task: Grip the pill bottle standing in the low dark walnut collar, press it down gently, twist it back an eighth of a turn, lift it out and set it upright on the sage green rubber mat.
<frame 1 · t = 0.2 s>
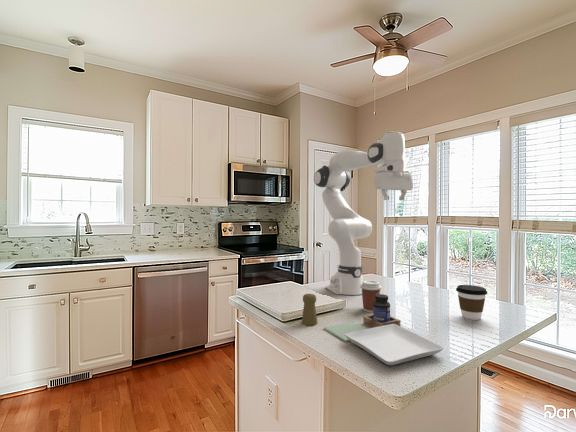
hand: (394, 200, 136), 47 cm above the counter, tool pointing down, fingers open, 8 cm apart
pill bottle: (381, 325, 116), resting in walnut collar
walnut collar: (381, 324, 116), on the counter
salad plate: (391, 350, 96), on the counter
cork: (309, 323, 119), on the counter
sage mat: (349, 331, 110), on the counter
coffee cup 2: (370, 310, 135), on the counter
coffee cup: (471, 318, 125), on the counter
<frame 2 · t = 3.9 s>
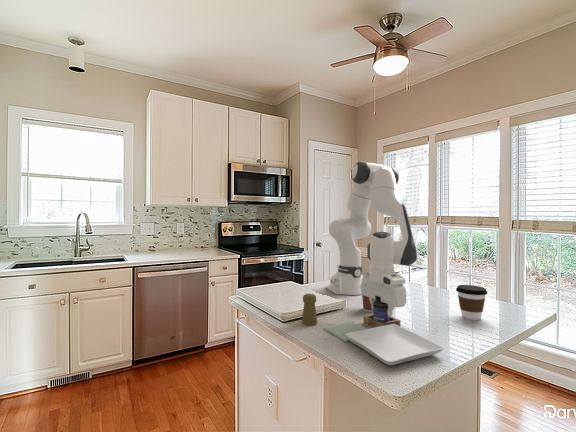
hand: (381, 312, 116), 5 cm above the counter, tool pointing down, fingers closed on pill bottle, 6 cm apart
pill bottle: (381, 325, 116), resting in walnut collar, touching gripper
everything else where it was.
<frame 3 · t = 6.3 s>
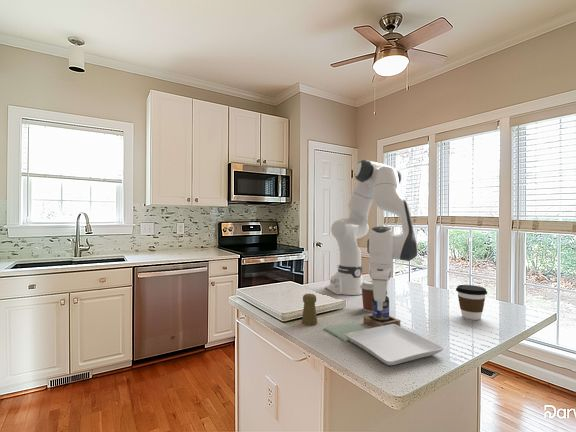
hand: (380, 306, 117), 7 cm above the counter, tool pointing down, fingers closed on pill bottle, 6 cm apart
pill bottle: (380, 319, 117), point 2 cm above the counter, touching gripper
everything else where it was.
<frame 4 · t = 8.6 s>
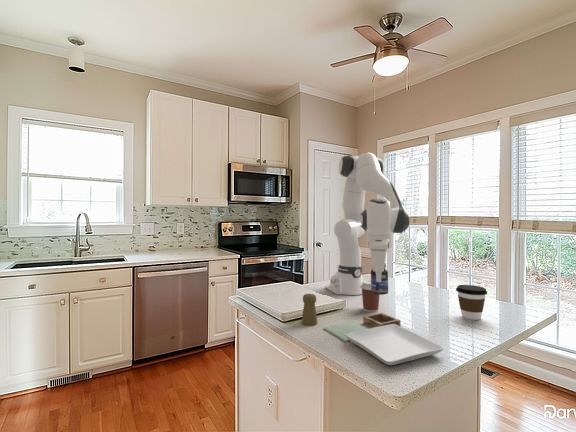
hand: (379, 279, 116), 17 cm above the counter, tool pointing down, fingers closed on pill bottle, 6 cm apart
pill bottle: (379, 293, 116), point 12 cm above the counter, touching gripper
everything else where it was.
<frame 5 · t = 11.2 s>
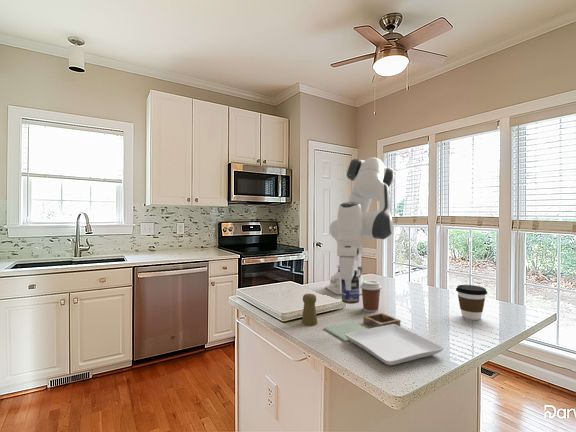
hand: (349, 287, 110), 16 cm above the counter, tool pointing down, fingers closed on pill bottle, 6 cm apart
pill bottle: (350, 302, 110), point 11 cm above the counter, touching gripper
everything else where it was.
when the fingers open (6 cm above the counter, at t = 13.6 s): pill bottle stays where it is, resting on sage mat.
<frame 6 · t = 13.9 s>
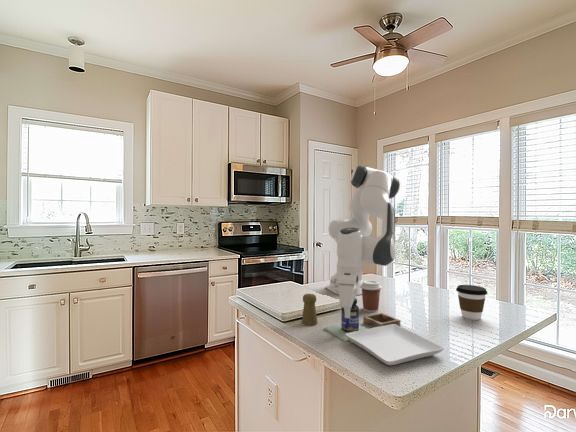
hand: (349, 313, 110), 7 cm above the counter, tool pointing down, fingers open, 8 cm apart
pill bottle: (350, 330, 110), resting on sage mat
everything else where it was.
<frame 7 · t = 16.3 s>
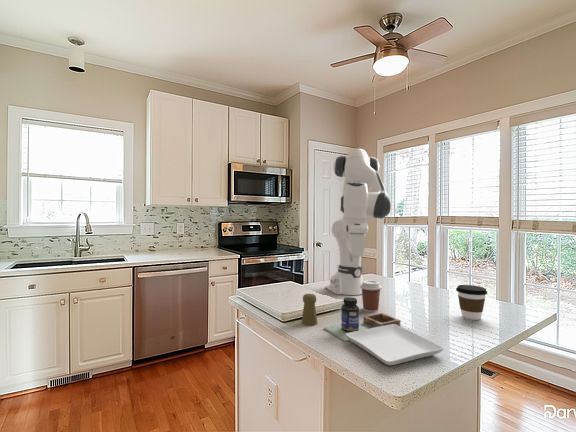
hand: (353, 264, 113), 23 cm above the counter, tool pointing down, fingers open, 8 cm apart
nothing on the counter moved.
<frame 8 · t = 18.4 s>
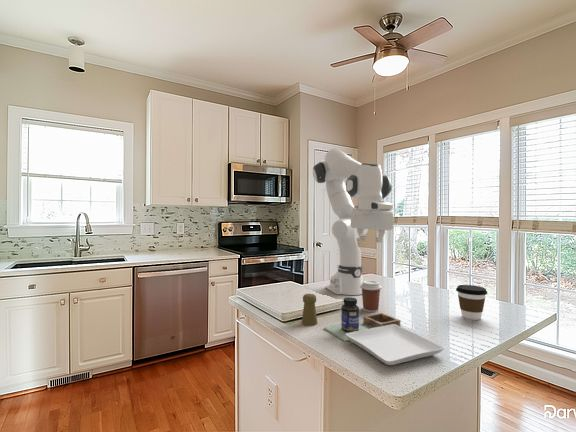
hand: (370, 241, 119), 31 cm above the counter, tool pointing down, fingers open, 8 cm apart
nothing on the counter moved.
at the end: pill bottle inside the target area on the sage mat (0.3 cm from its centre), point 0.4 cm above the sage mat's base; pill bottle tilted 0°; the gripper is holding nothing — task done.
